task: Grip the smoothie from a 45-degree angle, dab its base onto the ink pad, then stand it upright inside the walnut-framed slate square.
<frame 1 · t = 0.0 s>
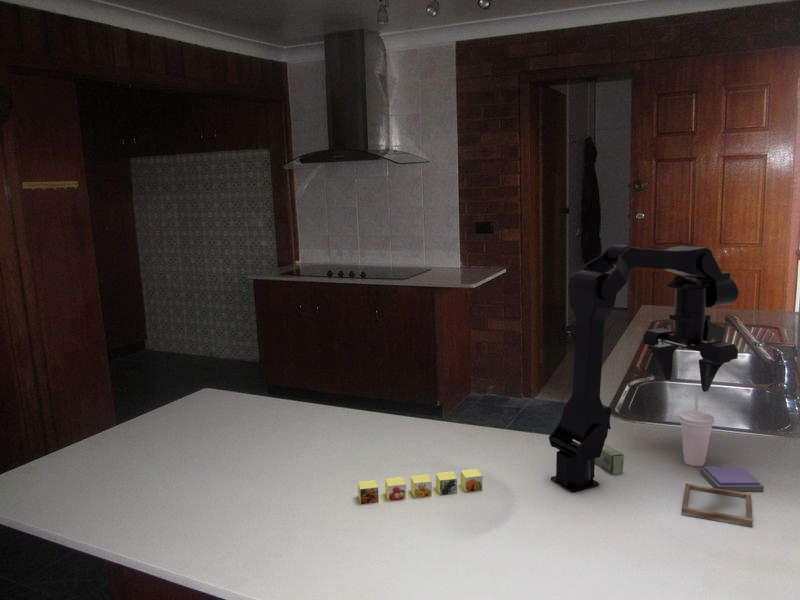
hand: (686, 385, 135), 15 cm above the countertop, tool pointing down, fingers open, 9 cm apart
medication box: (600, 464, 135), on the countertop
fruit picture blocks: (427, 501, 121), on the countertop
ink pad: (730, 482, 125), on the countertop
marked square: (716, 506, 115), on the countertop
smoothie: (694, 463, 134), on the countertop
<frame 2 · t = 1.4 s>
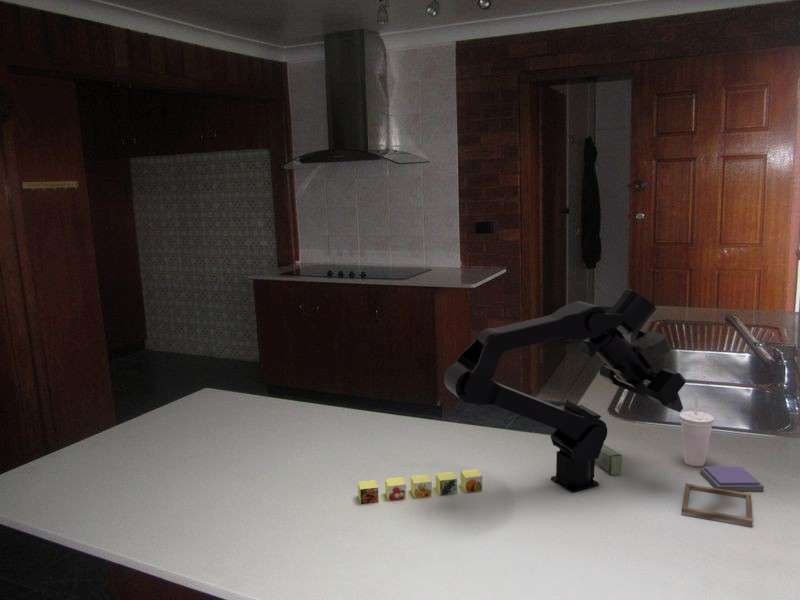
hand: (664, 402, 129), 13 cm above the countertop, tool tilted 45°, fingers open, 9 cm apart
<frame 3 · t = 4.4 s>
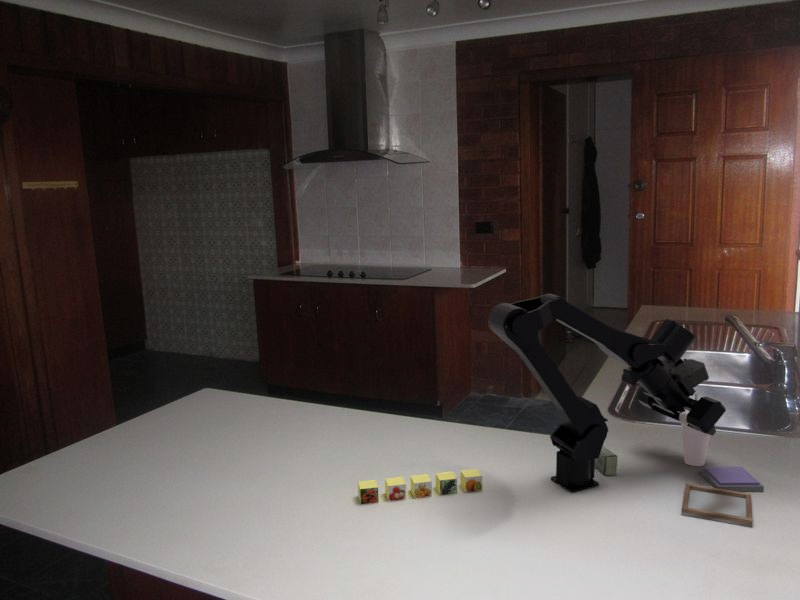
hand: (701, 428, 133), 7 cm above the countertop, tool tilted 45°, fingers closed on smoothie, 6 cm apart
smoothie: (694, 463, 134), on the countertop, touching gripper
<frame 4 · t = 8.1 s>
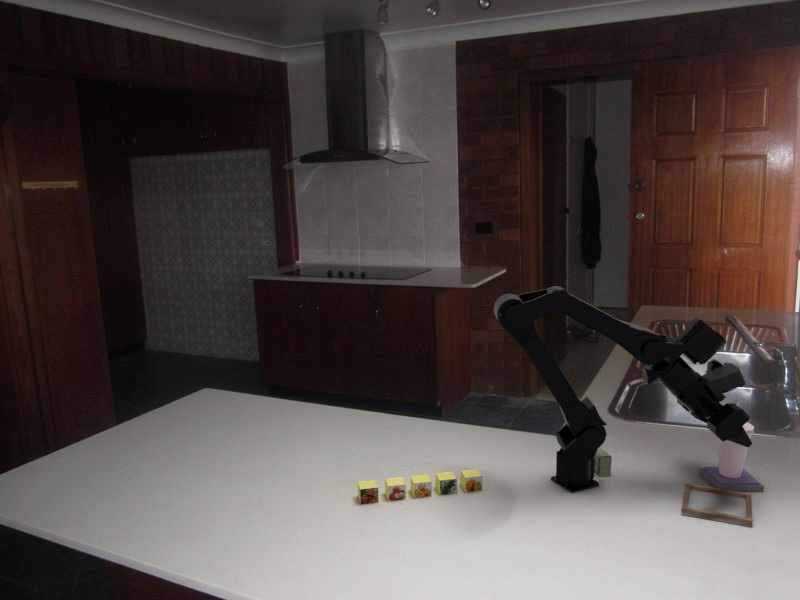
hand: (741, 438, 123), 8 cm above the countertop, tool tilted 45°, fingers closed on smoothie, 6 cm apart
smoothie: (729, 475, 124), point 1 cm above the countertop, touching gripper, ink pad
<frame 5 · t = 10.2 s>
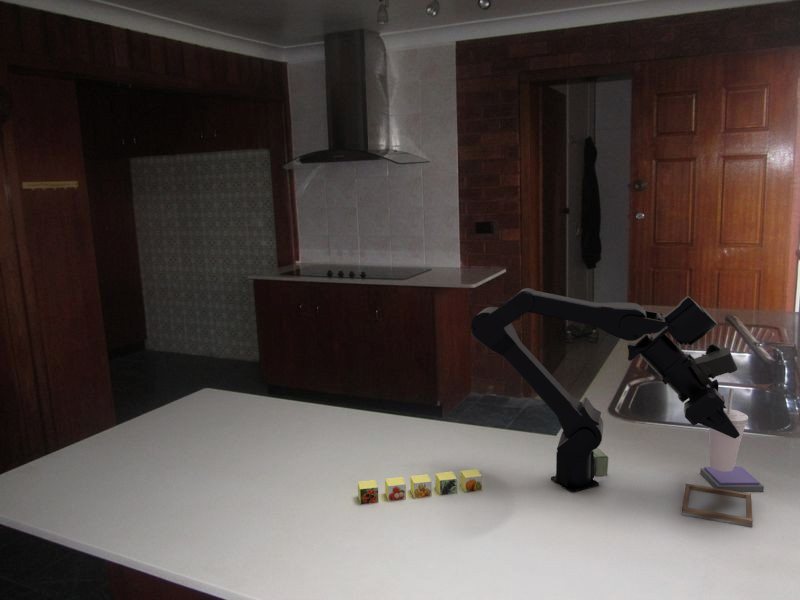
hand: (735, 430, 115), 13 cm above the countertop, tool tilted 45°, fingers closed on smoothie, 6 cm apart
smoothie: (721, 467, 116), point 6 cm above the countertop, touching gripper
when the fingers open (9 cm above the countertop, at t = 12.1 s): smoothie drops 1 cm, resting on marked square.
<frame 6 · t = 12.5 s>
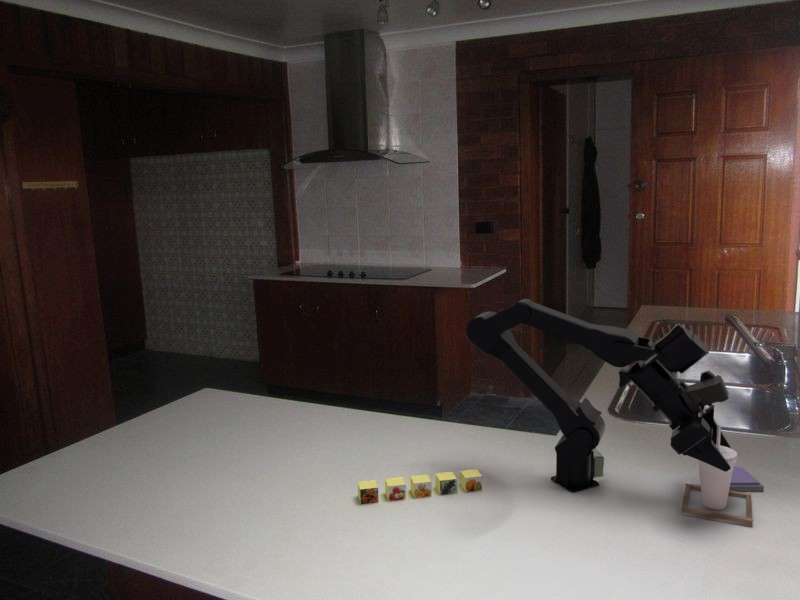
hand: (728, 459, 113), 9 cm above the countertop, tool tilted 45°, fingers open, 9 cm apart
smoothie: (713, 505, 115), resting on marked square
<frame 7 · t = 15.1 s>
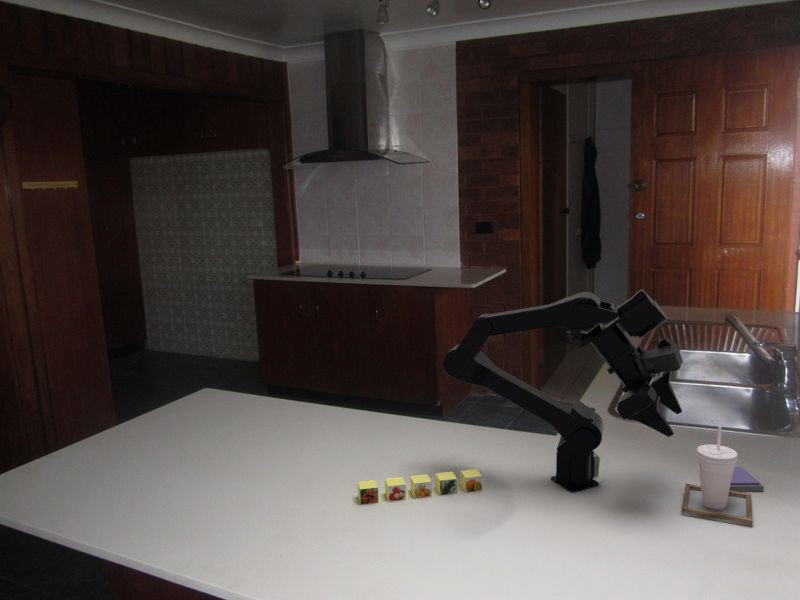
hand: (675, 423, 117), 14 cm above the countertop, tool tilted 40°, fingers open, 9 cm apart
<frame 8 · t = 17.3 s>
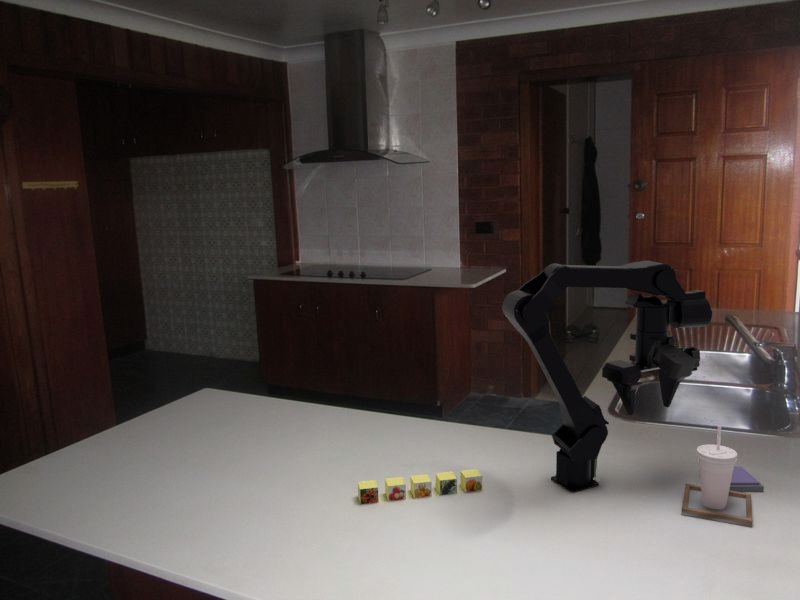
hand: (648, 410, 126), 13 cm above the countertop, tool pointing down, fingers open, 9 cm apart
at the end: smoothie 0.4 cm off-centre on the marked square, point 0.2 cm above the marked square's base; smoothie tilted 0°; the gripper is holding nothing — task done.
